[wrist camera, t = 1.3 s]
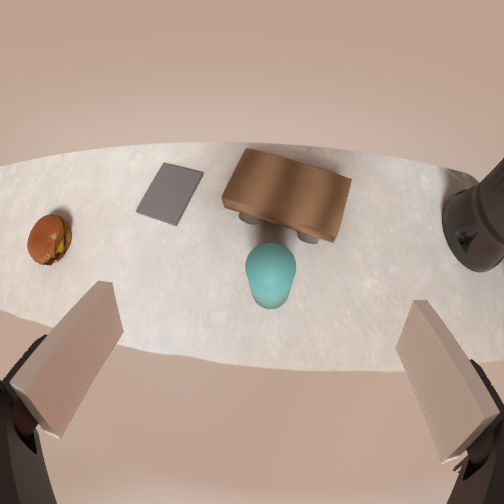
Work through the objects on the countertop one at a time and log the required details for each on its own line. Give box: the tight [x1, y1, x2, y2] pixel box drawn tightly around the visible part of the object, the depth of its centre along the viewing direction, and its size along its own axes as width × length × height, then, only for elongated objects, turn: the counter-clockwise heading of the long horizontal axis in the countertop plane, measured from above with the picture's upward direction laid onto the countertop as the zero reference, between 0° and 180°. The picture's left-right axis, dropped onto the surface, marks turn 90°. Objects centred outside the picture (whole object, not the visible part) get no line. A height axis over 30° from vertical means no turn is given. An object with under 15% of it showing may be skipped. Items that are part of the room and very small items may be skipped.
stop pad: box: [136, 163, 203, 226], centre depth 46 cm, size 8×10×1 cm
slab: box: [222, 148, 352, 244], centre depth 41 cm, size 16×9×6 cm, turn 69°
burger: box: [27, 215, 71, 265], centre depth 43 cm, size 10×9×5 cm
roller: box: [245, 243, 296, 309], centre depth 34 cm, size 5×5×12 cm
